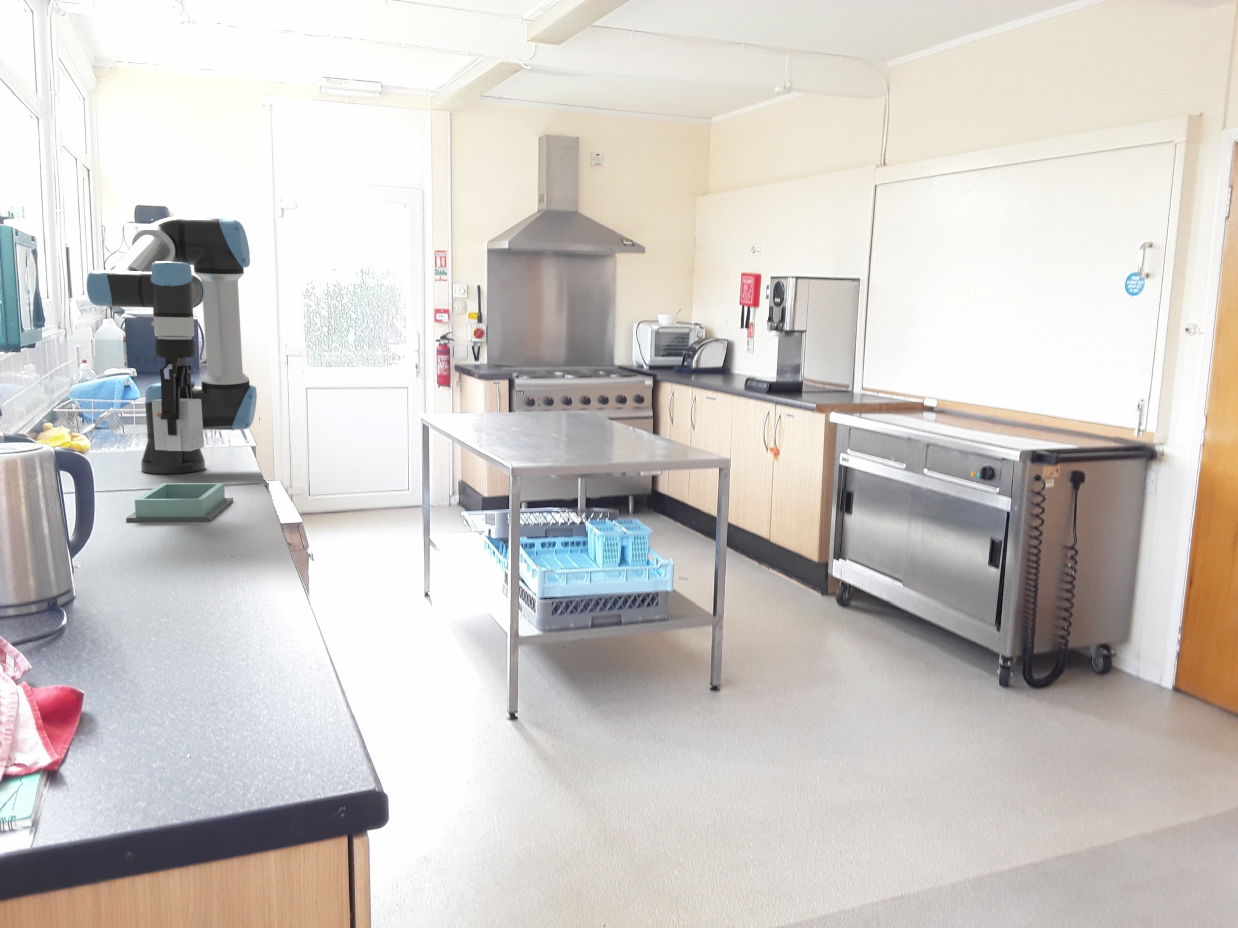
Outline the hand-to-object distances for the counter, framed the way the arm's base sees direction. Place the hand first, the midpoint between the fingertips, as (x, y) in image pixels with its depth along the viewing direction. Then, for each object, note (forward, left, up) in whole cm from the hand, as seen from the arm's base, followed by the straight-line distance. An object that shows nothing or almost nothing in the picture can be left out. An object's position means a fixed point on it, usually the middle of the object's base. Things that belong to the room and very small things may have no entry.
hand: (179, 447), depth 199 cm
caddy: (0, 0, -14) cm, 14 cm away
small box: (0, 0, 0) cm, 0 cm away
